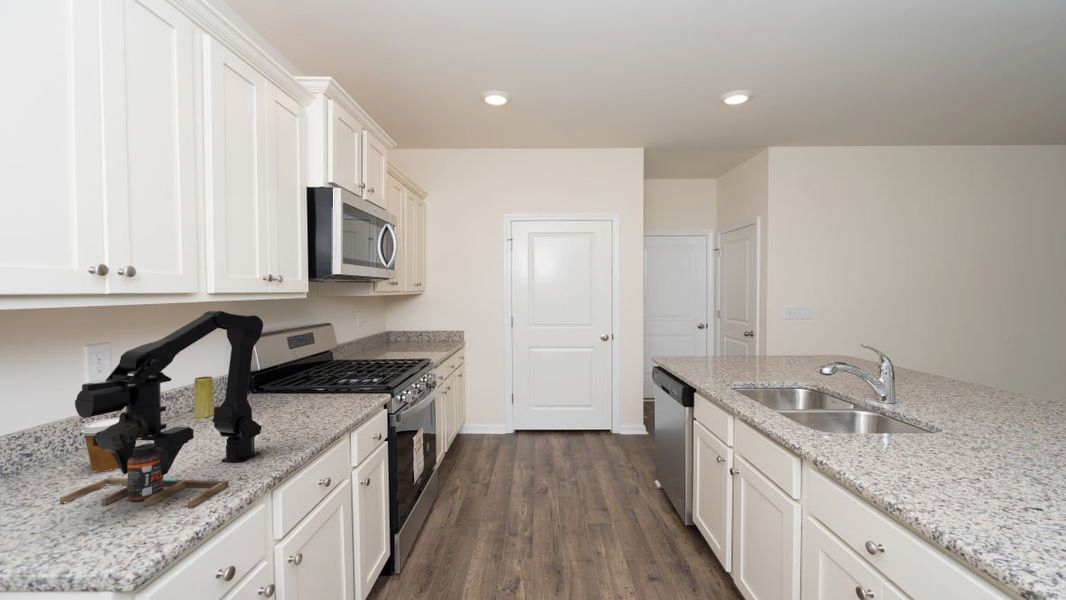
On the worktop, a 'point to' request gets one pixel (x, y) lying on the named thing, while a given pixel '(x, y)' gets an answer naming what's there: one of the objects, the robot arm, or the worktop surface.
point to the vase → (203, 397)
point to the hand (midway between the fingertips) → (145, 473)
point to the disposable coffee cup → (98, 457)
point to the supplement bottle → (144, 473)
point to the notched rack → (167, 482)
